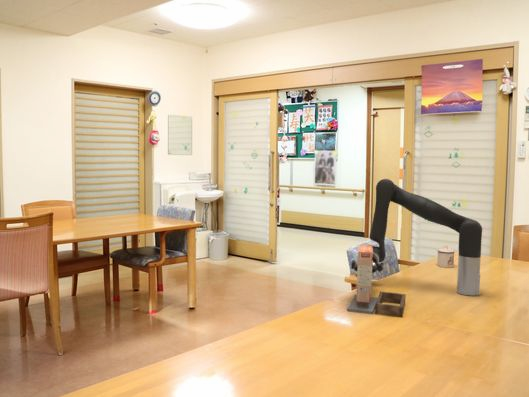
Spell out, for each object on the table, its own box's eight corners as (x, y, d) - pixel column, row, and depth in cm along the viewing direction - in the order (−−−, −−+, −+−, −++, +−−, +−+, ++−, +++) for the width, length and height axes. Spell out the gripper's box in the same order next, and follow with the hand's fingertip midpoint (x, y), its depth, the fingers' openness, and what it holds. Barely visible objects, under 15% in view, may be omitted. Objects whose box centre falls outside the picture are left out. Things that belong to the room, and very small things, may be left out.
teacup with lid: (450, 268, 268) (451, 248, 267) (434, 266, 274) (435, 245, 273) (458, 265, 277) (459, 245, 276) (442, 262, 283) (443, 243, 282)
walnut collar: (405, 303, 204) (405, 294, 204) (402, 317, 187) (402, 306, 186) (379, 300, 208) (380, 291, 207) (374, 313, 190) (375, 303, 190)
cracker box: (371, 303, 193) (373, 252, 191) (355, 302, 195) (357, 251, 192) (371, 293, 207) (373, 245, 205) (356, 292, 208) (358, 244, 206)
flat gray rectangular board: (378, 299, 209) (378, 297, 208) (372, 314, 190) (372, 311, 190) (354, 297, 212) (354, 294, 212) (347, 311, 193) (347, 308, 193)
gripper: (353, 251, 218) (347, 259, 203) (386, 254, 214) (382, 262, 198) (353, 267, 219) (346, 276, 203) (385, 270, 214) (381, 280, 199)
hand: (364, 269), depth 201 cm, fingers closed on cracker box, 6 cm apart
